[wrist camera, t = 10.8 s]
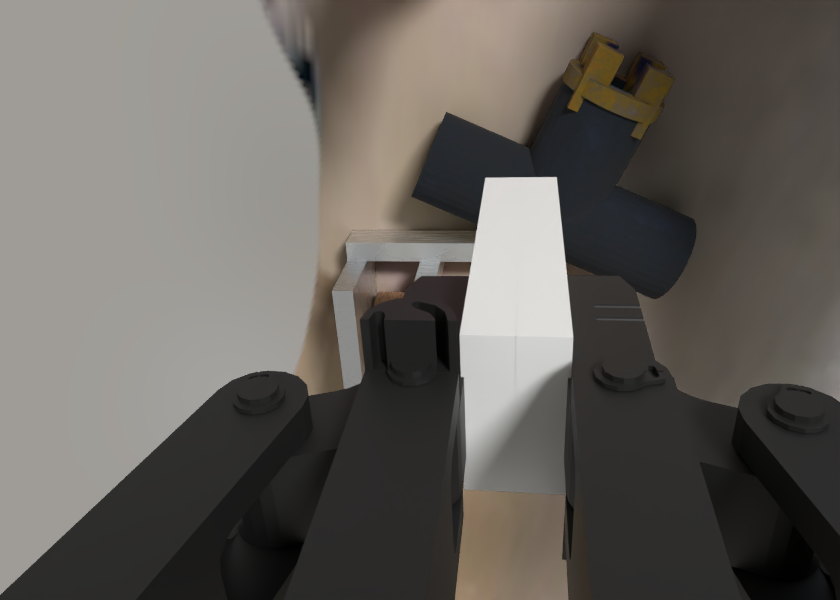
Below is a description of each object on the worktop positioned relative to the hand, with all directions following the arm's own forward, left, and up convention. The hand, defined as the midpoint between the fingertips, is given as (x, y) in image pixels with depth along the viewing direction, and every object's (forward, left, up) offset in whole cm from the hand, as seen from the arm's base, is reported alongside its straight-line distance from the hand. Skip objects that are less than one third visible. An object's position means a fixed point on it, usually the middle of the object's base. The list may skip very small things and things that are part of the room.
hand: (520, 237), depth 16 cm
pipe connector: (-3, +6, -27) cm, 28 cm away
